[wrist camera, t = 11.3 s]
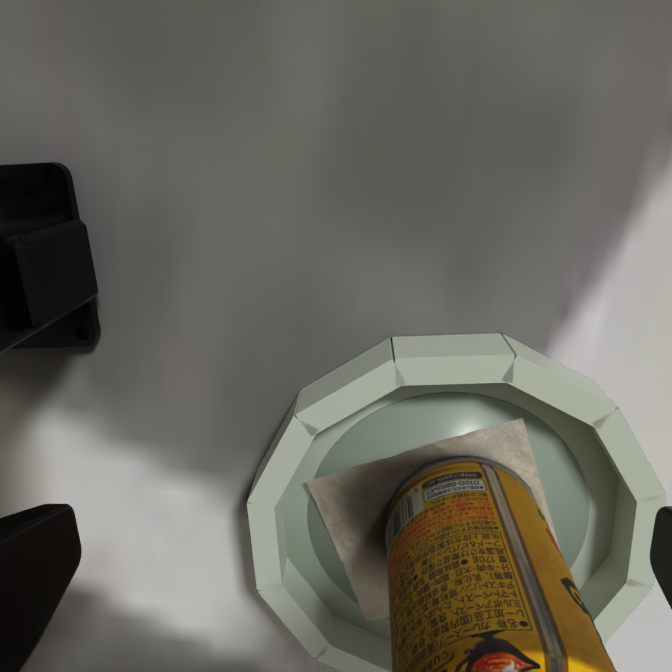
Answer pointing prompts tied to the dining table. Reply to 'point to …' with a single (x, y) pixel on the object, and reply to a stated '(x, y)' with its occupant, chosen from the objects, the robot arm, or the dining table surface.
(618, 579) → the round tray
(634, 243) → the dining table surface
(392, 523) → the condiment
